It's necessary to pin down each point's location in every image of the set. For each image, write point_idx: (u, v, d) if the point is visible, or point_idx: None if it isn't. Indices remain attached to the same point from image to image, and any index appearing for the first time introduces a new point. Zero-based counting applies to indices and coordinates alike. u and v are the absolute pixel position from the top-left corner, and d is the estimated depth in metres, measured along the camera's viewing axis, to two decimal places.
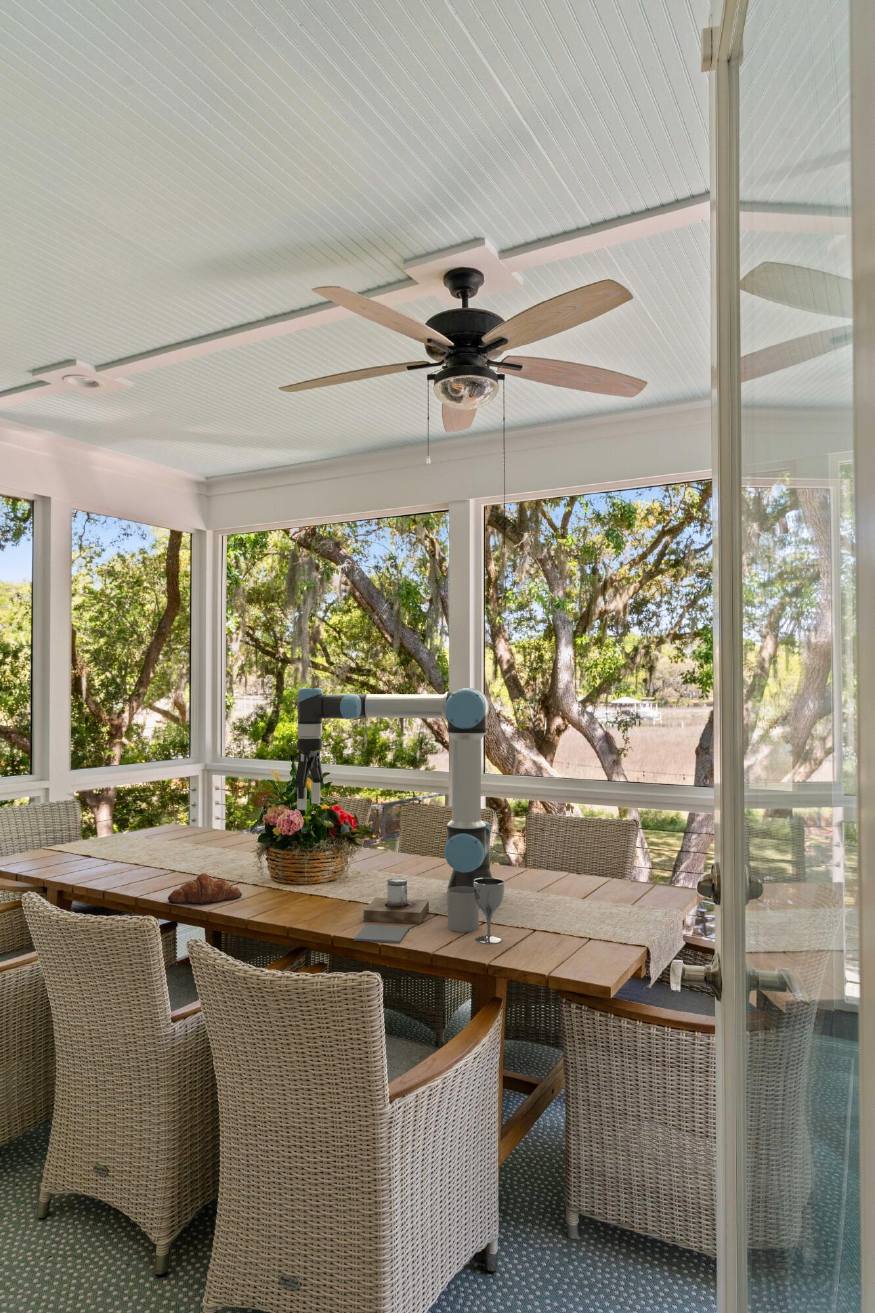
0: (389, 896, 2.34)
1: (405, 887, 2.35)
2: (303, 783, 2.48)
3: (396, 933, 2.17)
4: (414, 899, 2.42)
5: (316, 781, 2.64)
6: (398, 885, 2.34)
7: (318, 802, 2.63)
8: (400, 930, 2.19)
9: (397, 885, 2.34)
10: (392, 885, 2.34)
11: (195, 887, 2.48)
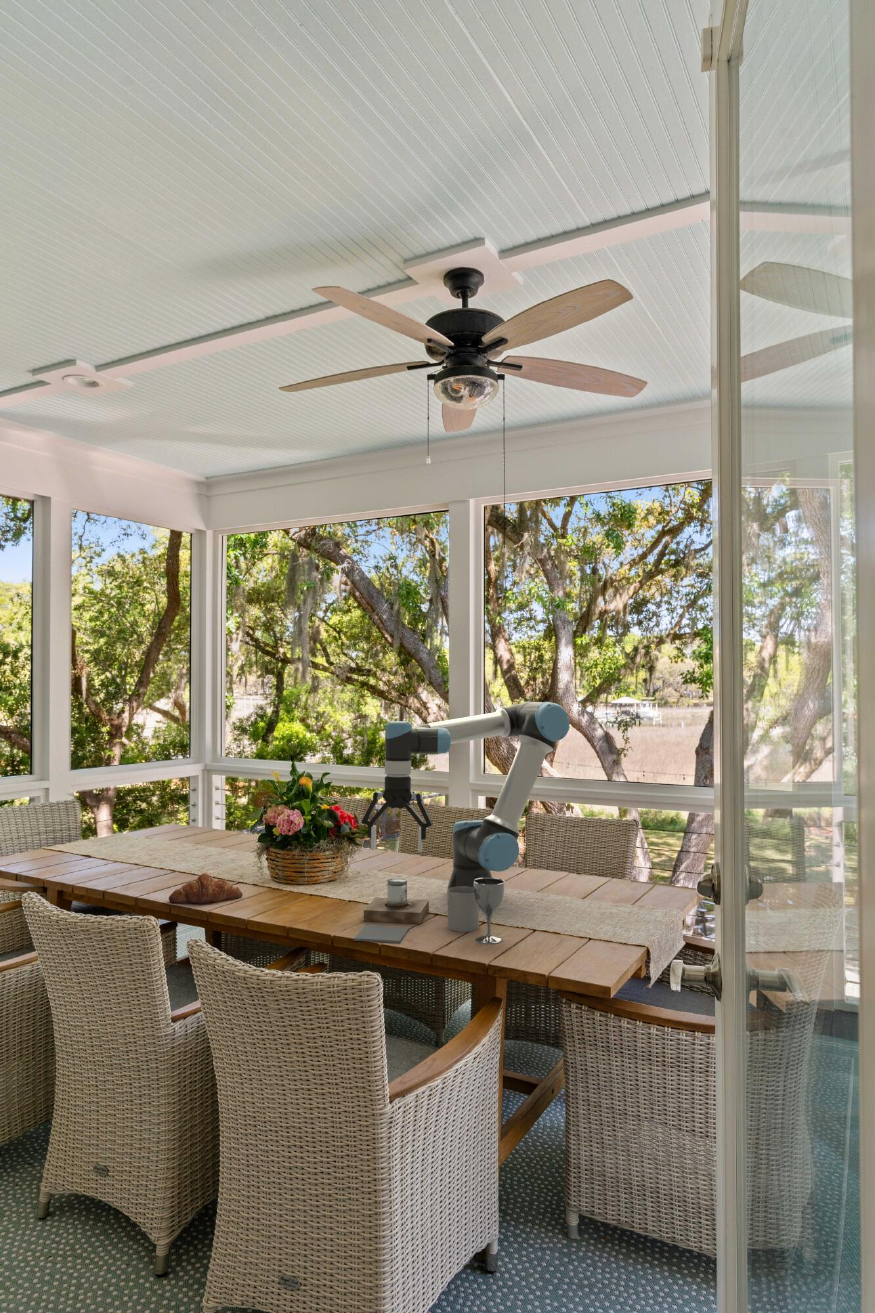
0: (389, 896, 2.34)
1: (405, 887, 2.35)
2: (365, 821, 2.37)
3: (396, 933, 2.17)
4: (414, 899, 2.42)
5: None
6: (398, 885, 2.34)
7: (418, 850, 2.35)
8: (400, 930, 2.19)
9: (397, 885, 2.34)
10: (392, 885, 2.34)
11: (196, 887, 2.48)
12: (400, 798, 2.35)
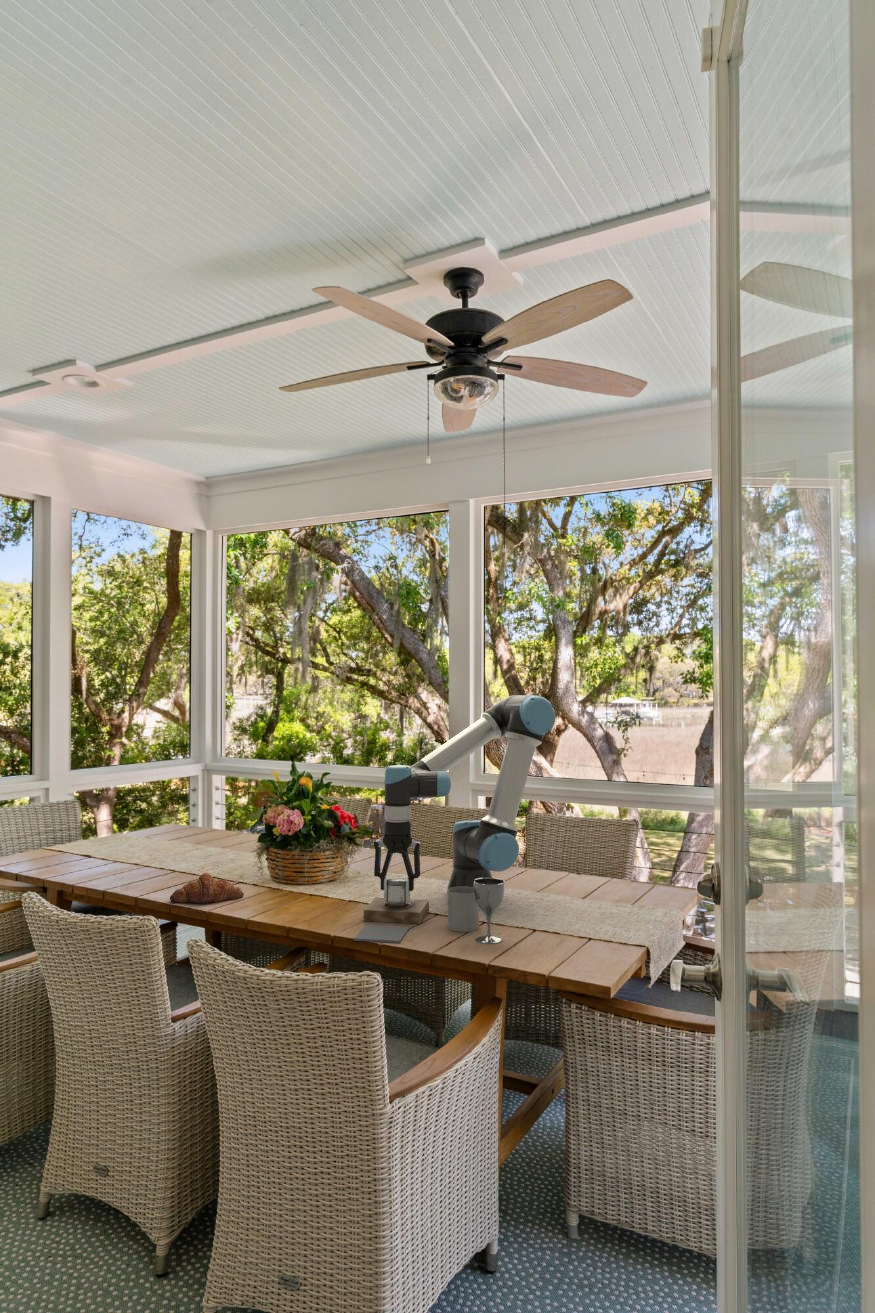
0: (389, 896, 2.34)
1: (405, 887, 2.35)
2: (377, 872, 2.36)
3: (396, 933, 2.17)
4: (414, 899, 2.42)
5: None
6: (398, 885, 2.34)
7: None
8: (400, 930, 2.19)
9: (397, 885, 2.34)
10: (392, 885, 2.34)
11: (197, 887, 2.49)
12: (400, 843, 2.35)
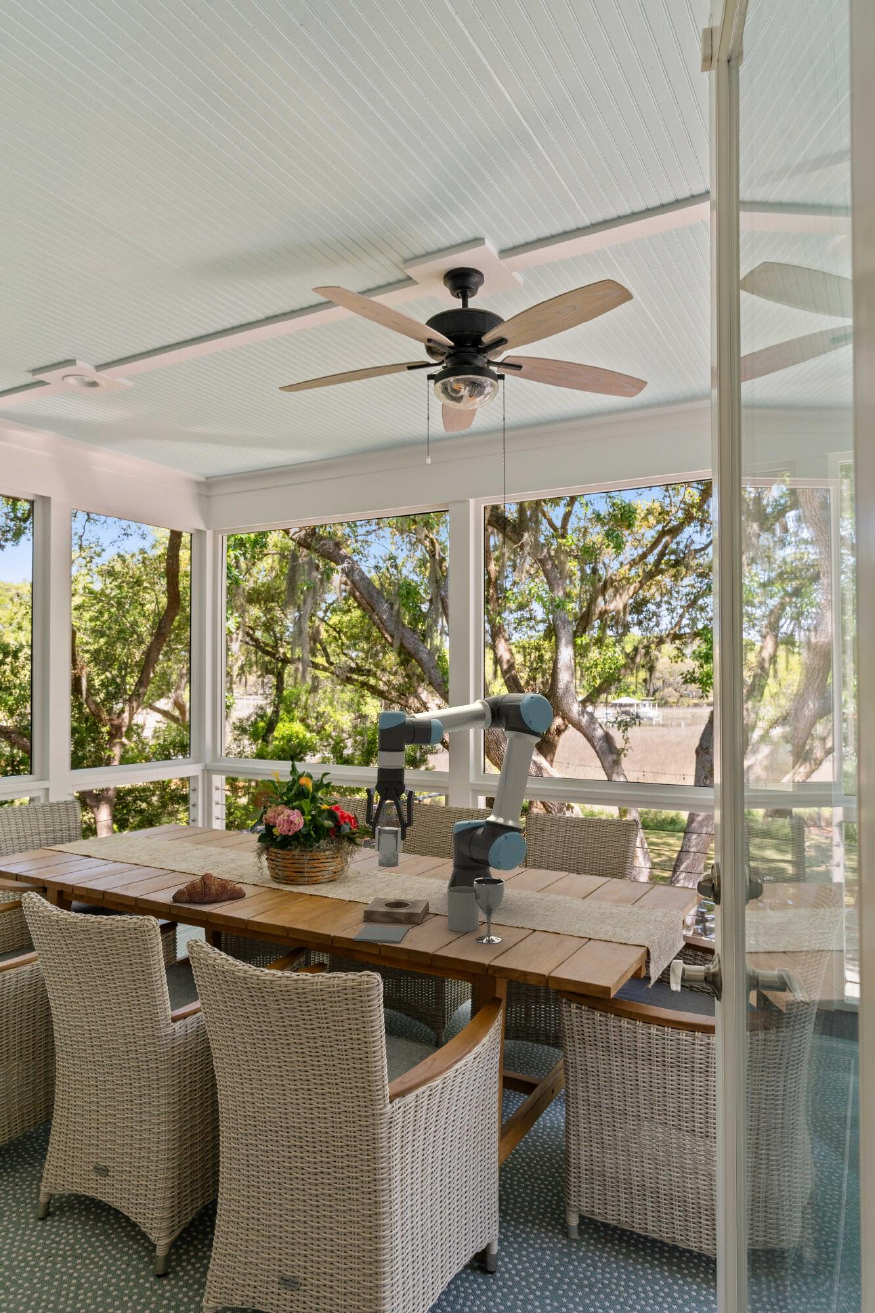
0: (380, 844, 2.27)
1: (397, 836, 2.28)
2: (368, 820, 2.29)
3: (396, 933, 2.17)
4: (414, 899, 2.42)
5: None
6: (390, 833, 2.26)
7: None
8: (400, 930, 2.19)
9: (389, 833, 2.26)
10: (384, 832, 2.27)
11: (199, 887, 2.49)
12: (393, 790, 2.27)
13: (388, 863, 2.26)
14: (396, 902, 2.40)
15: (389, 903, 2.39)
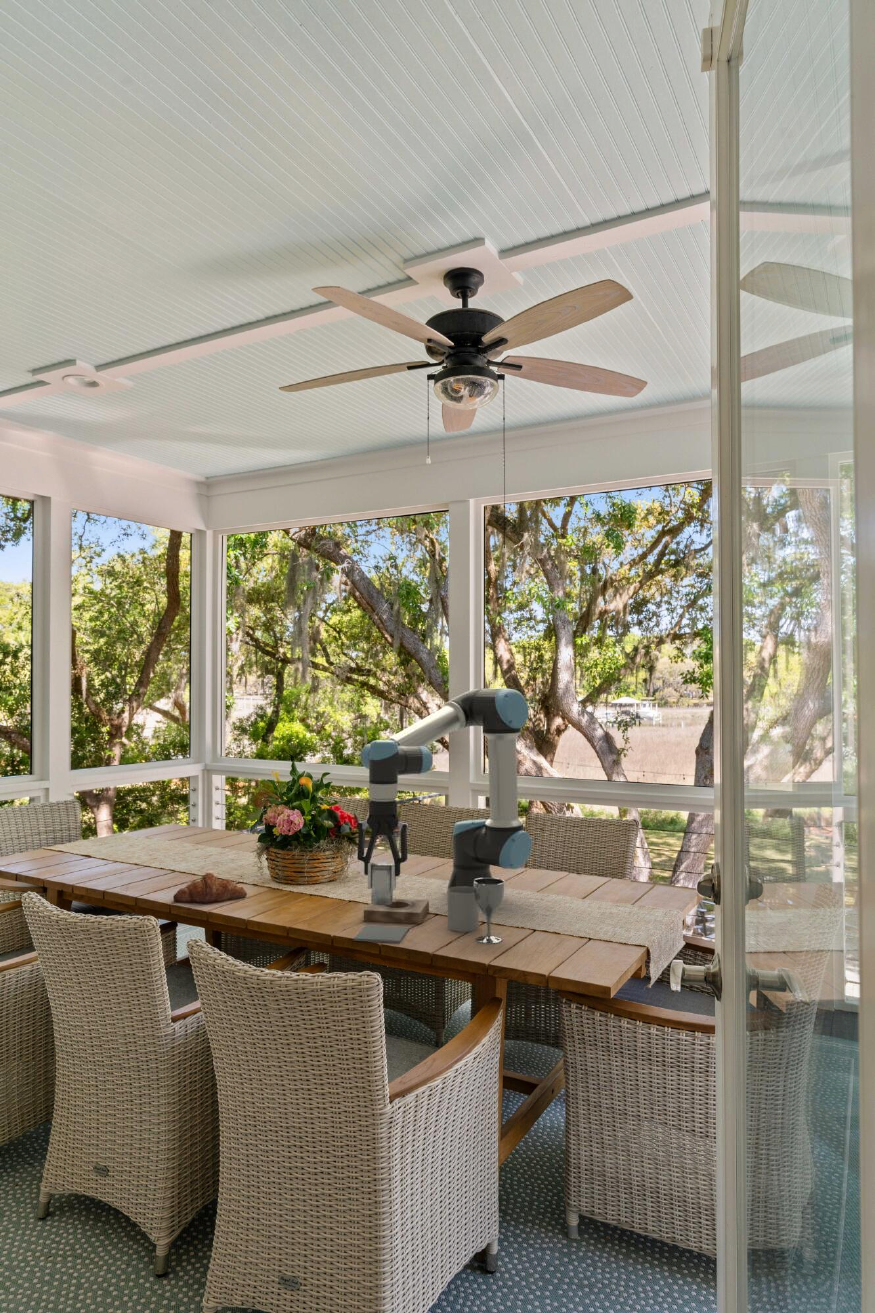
0: (373, 881, 2.16)
1: (391, 872, 2.16)
2: (360, 856, 2.18)
3: (396, 933, 2.17)
4: (414, 899, 2.42)
5: None
6: (383, 869, 2.15)
7: None
8: (400, 930, 2.19)
9: (382, 869, 2.15)
10: (377, 869, 2.15)
11: (200, 886, 2.49)
12: (386, 824, 2.16)
13: (382, 901, 2.15)
14: (396, 902, 2.40)
15: None
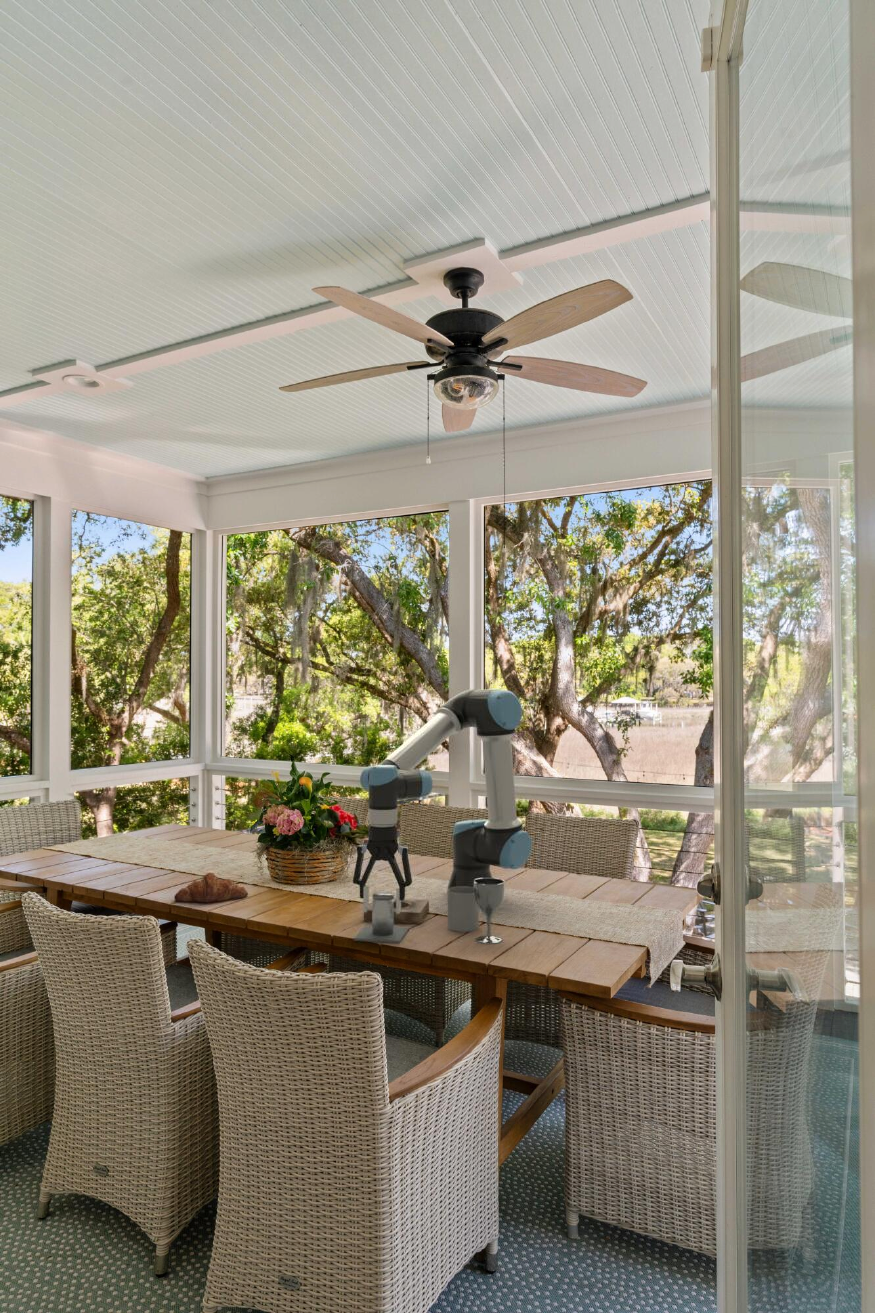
0: (374, 911, 2.16)
1: (392, 902, 2.16)
2: (356, 880, 2.18)
3: (396, 933, 2.17)
4: (414, 899, 2.42)
5: None
6: (384, 899, 2.15)
7: None
8: (400, 930, 2.19)
9: (383, 899, 2.15)
10: (378, 899, 2.15)
11: (201, 886, 2.49)
12: (385, 850, 2.16)
13: (382, 931, 2.15)
14: None
15: None
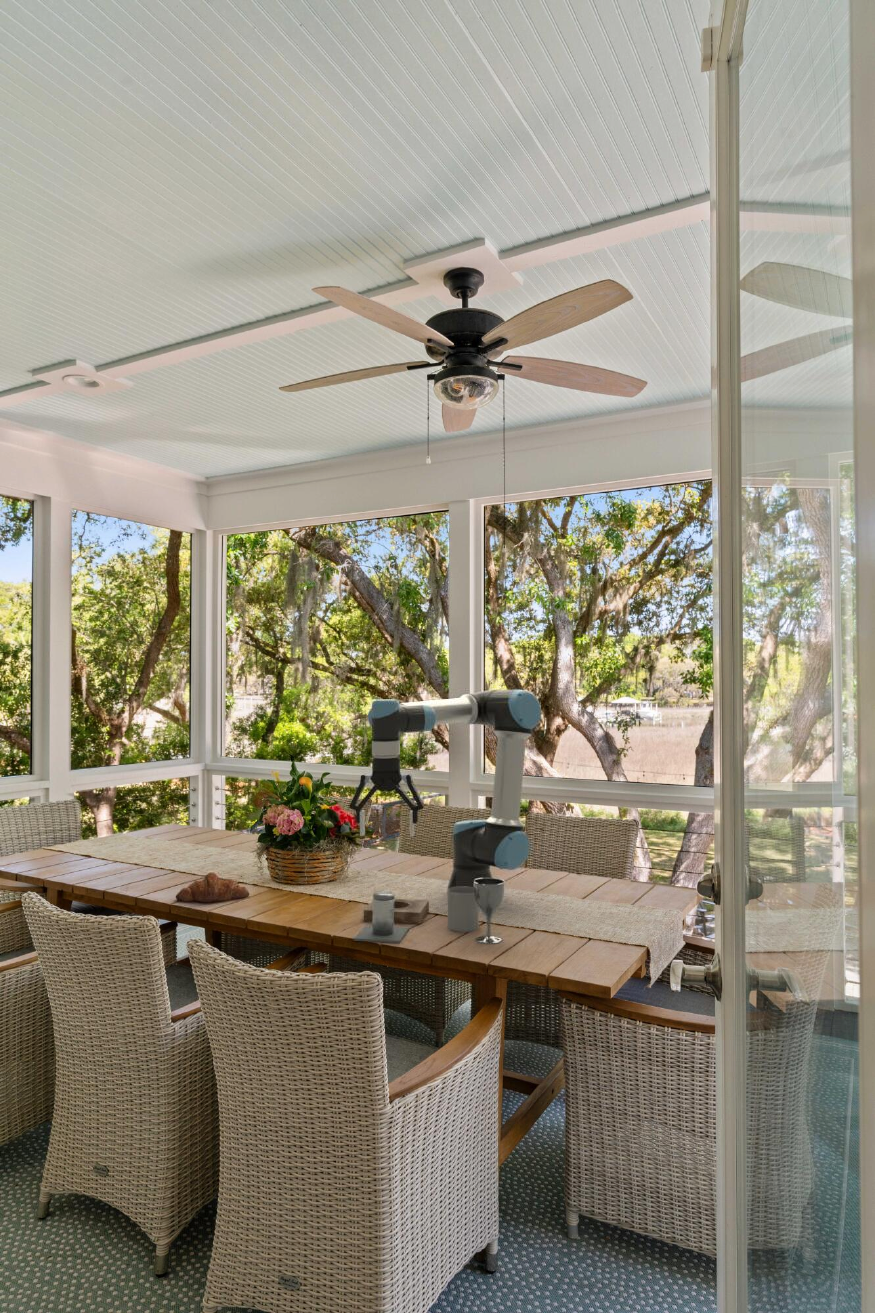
0: (374, 911, 2.16)
1: (392, 902, 2.16)
2: (352, 805, 2.24)
3: (396, 933, 2.17)
4: (414, 899, 2.42)
5: None
6: (384, 900, 2.15)
7: (410, 834, 2.22)
8: (400, 930, 2.19)
9: (383, 900, 2.15)
10: (378, 899, 2.15)
11: (202, 886, 2.50)
12: (389, 780, 2.22)
13: (382, 931, 2.14)
14: (396, 902, 2.40)
15: None
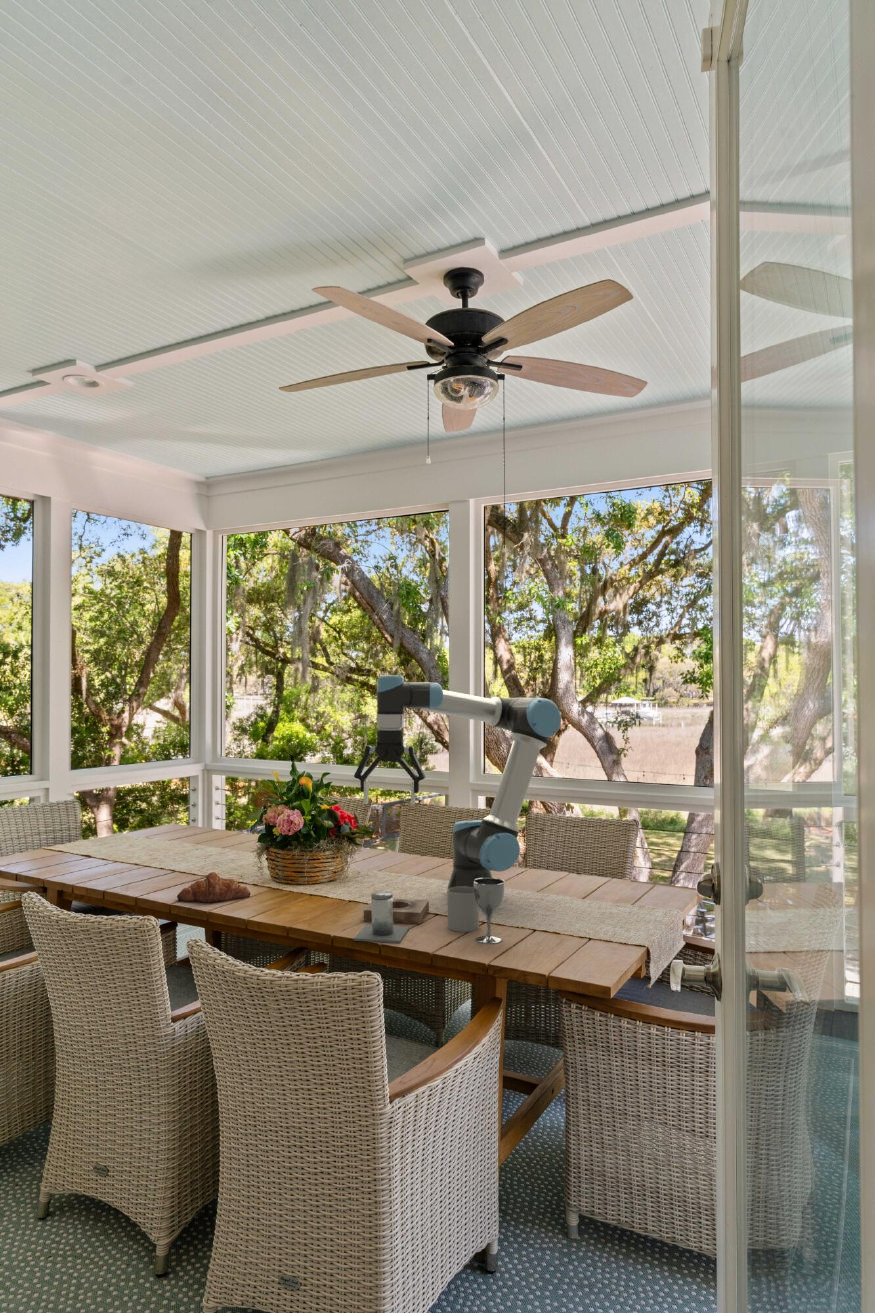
0: (373, 911, 2.16)
1: (390, 901, 2.16)
2: (357, 775, 2.36)
3: (396, 933, 2.17)
4: (414, 899, 2.42)
5: None
6: (382, 899, 2.15)
7: None
8: (400, 930, 2.19)
9: (381, 899, 2.15)
10: (376, 899, 2.15)
11: (203, 886, 2.50)
12: (392, 751, 2.34)
13: (382, 931, 2.14)
14: (396, 902, 2.40)
15: None
